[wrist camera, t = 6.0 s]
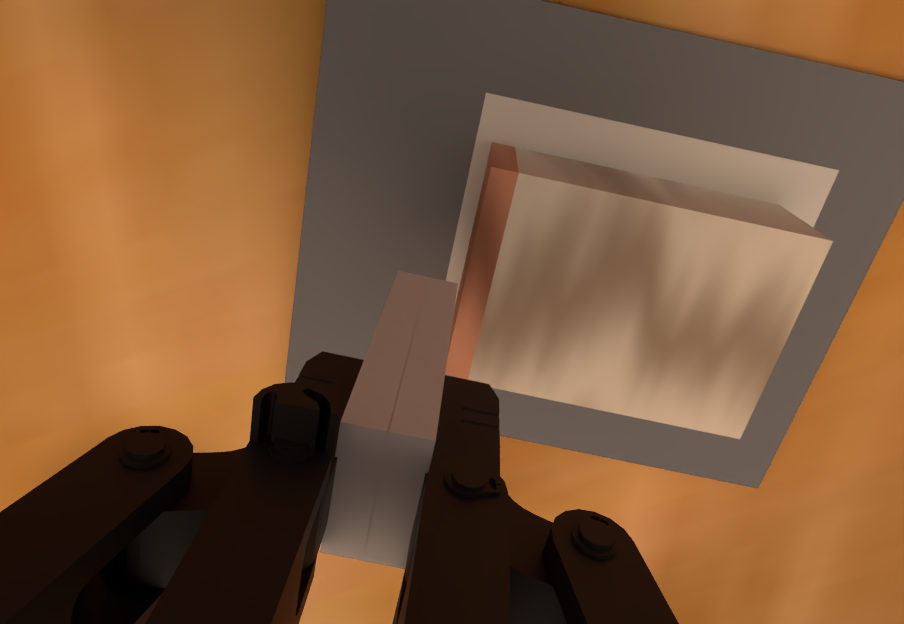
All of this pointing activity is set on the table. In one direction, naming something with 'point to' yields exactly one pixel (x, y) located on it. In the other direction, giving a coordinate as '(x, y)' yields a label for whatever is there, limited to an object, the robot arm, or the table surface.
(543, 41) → the mat
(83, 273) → the table surface
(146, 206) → the table surface
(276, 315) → the table surface
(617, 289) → the block
